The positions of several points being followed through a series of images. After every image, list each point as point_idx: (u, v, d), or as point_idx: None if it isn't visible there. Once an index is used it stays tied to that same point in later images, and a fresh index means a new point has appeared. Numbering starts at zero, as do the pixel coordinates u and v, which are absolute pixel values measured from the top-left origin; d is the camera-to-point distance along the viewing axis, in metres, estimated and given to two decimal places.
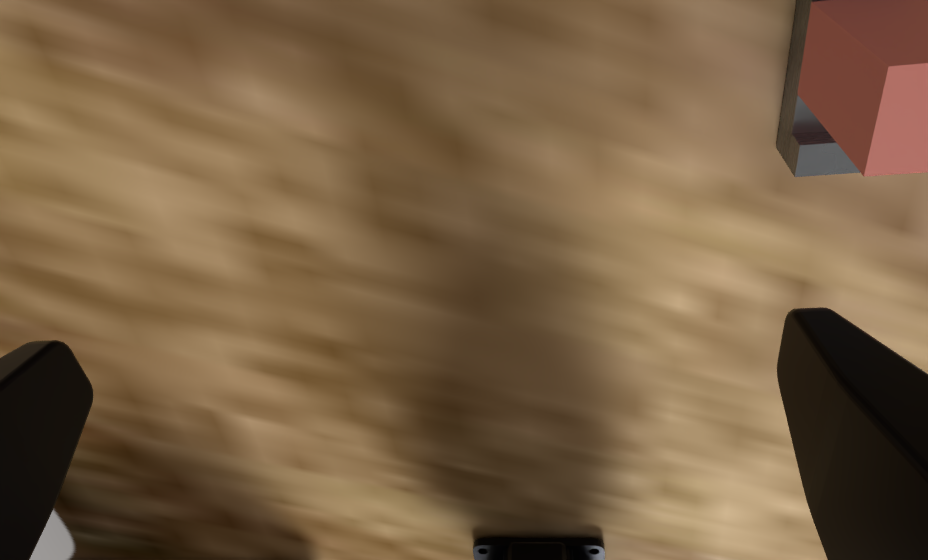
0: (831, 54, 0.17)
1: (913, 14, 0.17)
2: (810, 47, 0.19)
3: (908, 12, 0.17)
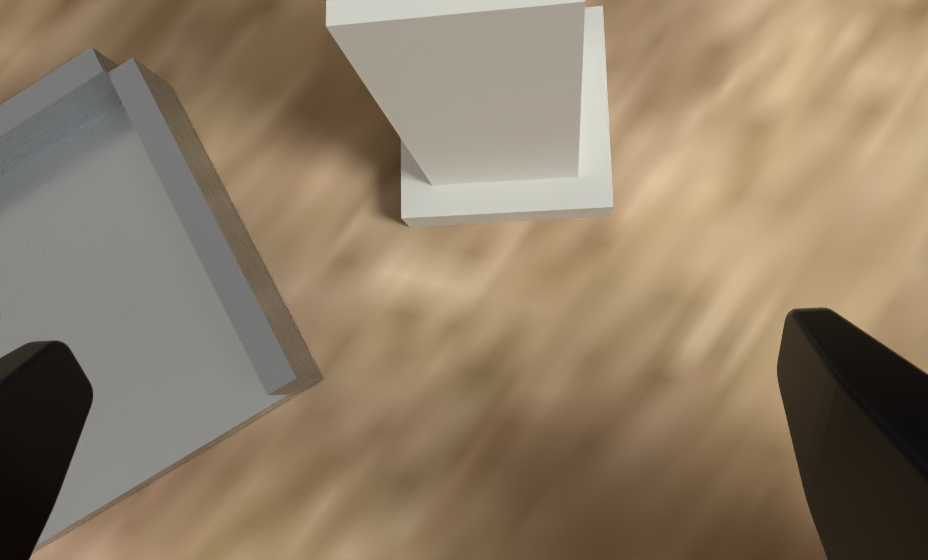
0: None
1: None
2: None
3: None
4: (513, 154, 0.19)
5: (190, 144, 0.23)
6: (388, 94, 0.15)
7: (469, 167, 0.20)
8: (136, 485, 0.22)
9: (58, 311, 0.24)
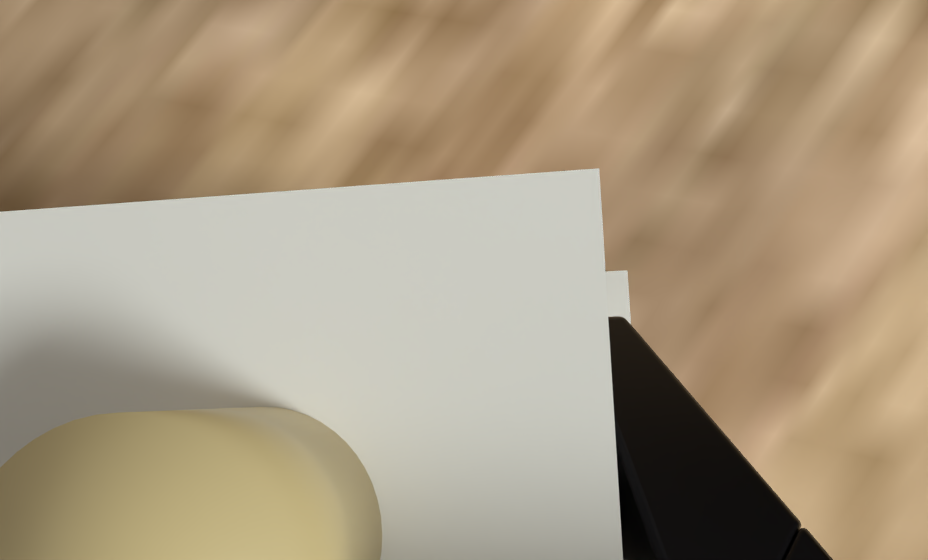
0: None
1: None
2: None
3: None
4: None
5: None
6: None
7: None
8: None
9: None
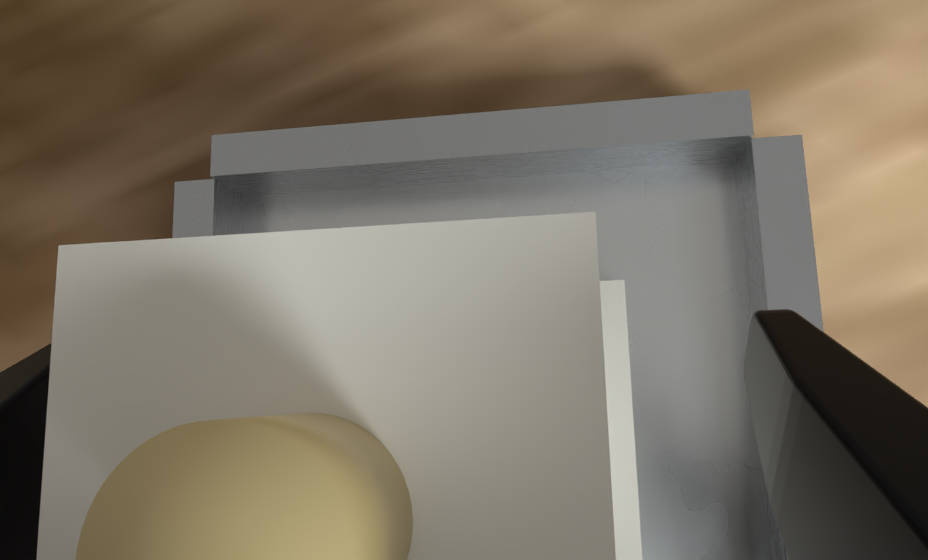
0: None
1: None
2: None
3: None
4: None
5: None
6: None
7: None
8: None
9: None
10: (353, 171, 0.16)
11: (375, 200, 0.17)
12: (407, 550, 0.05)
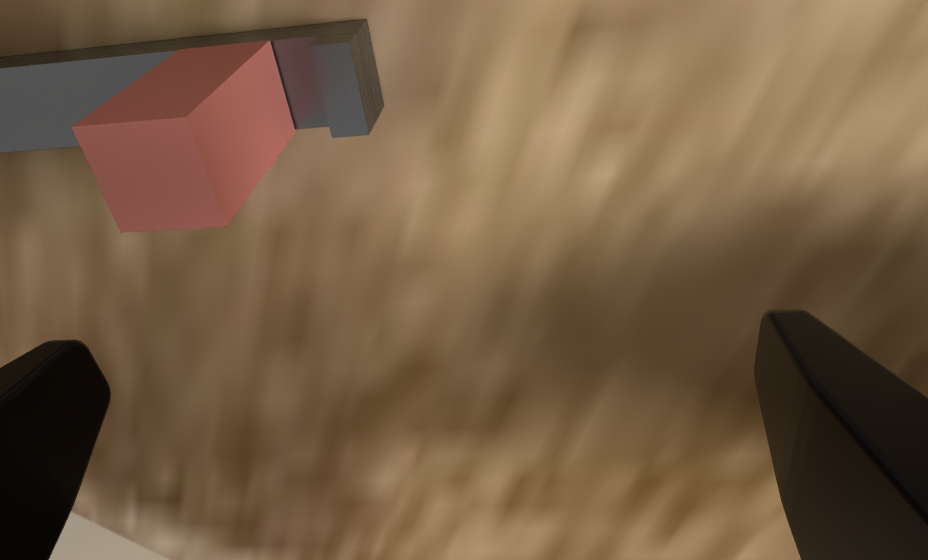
0: None
1: None
2: None
3: None
4: None
5: None
6: None
7: None
8: None
9: None
10: None
11: None
12: None
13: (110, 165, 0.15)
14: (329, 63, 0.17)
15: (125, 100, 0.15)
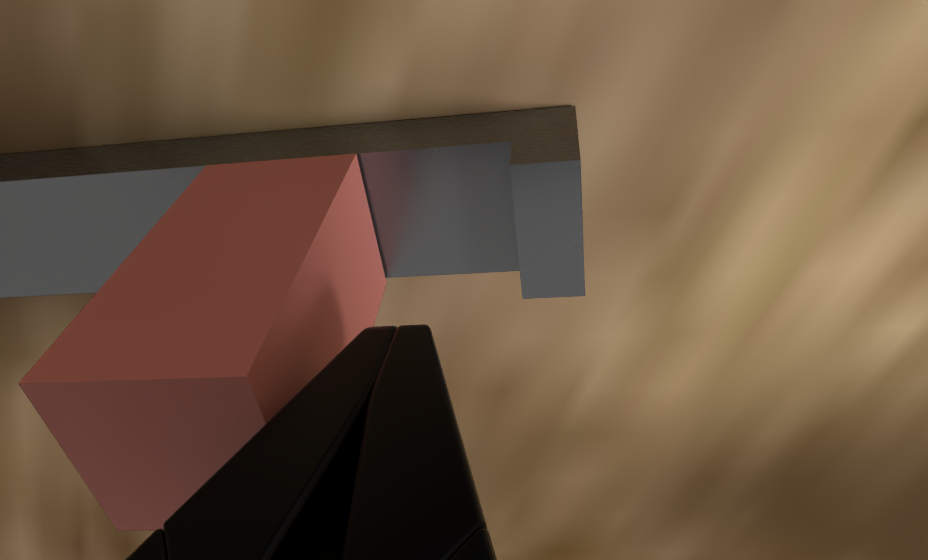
0: None
1: None
2: None
3: None
4: None
5: None
6: None
7: None
8: None
9: None
10: None
11: None
12: None
13: (96, 441, 0.08)
14: (540, 192, 0.10)
15: (124, 305, 0.08)
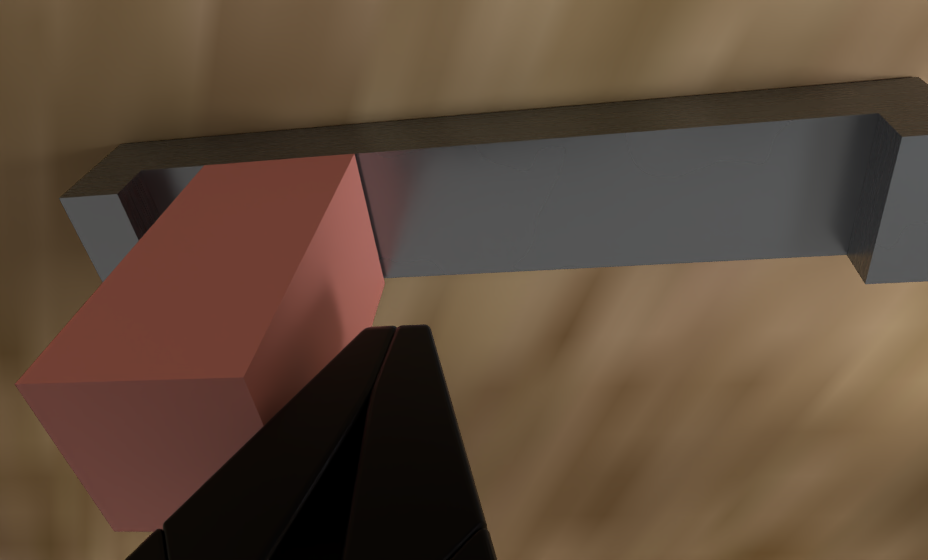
0: None
1: None
2: None
3: None
4: None
5: None
6: None
7: None
8: None
9: None
10: None
11: None
12: None
13: (93, 442, 0.08)
14: (926, 167, 0.09)
15: (121, 304, 0.08)
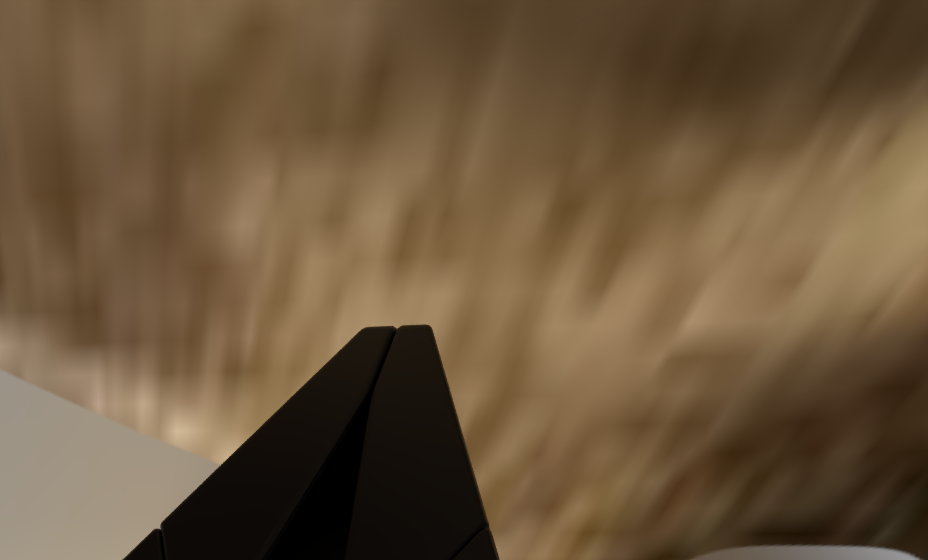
0: None
1: None
2: None
3: None
4: None
5: None
6: None
7: None
8: None
9: None
10: None
11: None
12: None
13: None
14: None
15: None
